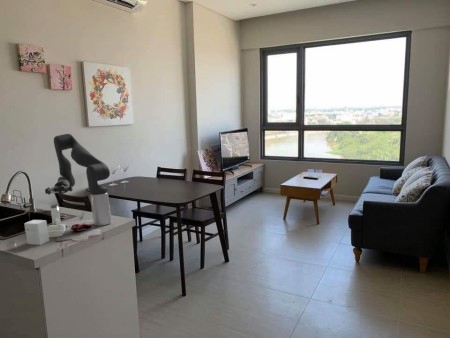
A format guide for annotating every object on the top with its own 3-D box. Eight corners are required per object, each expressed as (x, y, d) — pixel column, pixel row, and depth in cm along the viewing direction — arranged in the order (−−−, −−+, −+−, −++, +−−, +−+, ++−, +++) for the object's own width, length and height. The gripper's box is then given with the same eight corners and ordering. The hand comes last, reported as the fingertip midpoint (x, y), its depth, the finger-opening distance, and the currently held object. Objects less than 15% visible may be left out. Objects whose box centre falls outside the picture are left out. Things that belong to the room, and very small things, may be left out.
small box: (49, 241, 166) (46, 220, 164) (40, 245, 161) (37, 223, 159) (36, 240, 168) (33, 219, 167) (27, 244, 163) (23, 223, 161)
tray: (65, 229, 183) (64, 223, 182) (62, 235, 172) (61, 230, 172) (43, 232, 180) (42, 226, 179) (37, 239, 169) (37, 233, 169)
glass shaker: (61, 224, 191) (59, 204, 189) (60, 227, 187) (57, 205, 185) (53, 225, 190) (51, 204, 188) (52, 228, 186) (49, 206, 184)
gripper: (48, 181, 209) (42, 186, 194) (73, 179, 213) (69, 184, 198) (50, 193, 210) (44, 199, 195) (75, 191, 214) (71, 197, 199)
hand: (56, 192), depth 196 cm, fingers open, 8 cm apart
